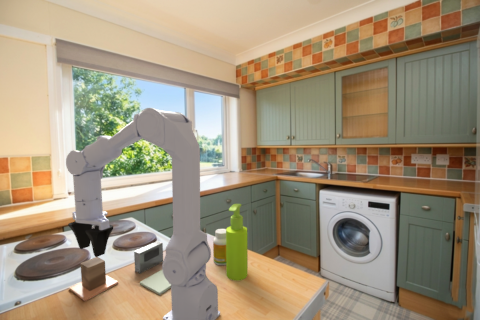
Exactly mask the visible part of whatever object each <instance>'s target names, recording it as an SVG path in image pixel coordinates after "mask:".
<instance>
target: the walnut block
mask: <svg viewBox="0 0 480 320" xmlns="http://www.w3.org/2000/svg"><path fill="white" fill-rule="evenodd" d="M106 273H107V272H106V262H105V260H104V259H102V258H100V256H98V257H95V256H94V257H93V258H90V259H88V260H85V261H83V262H80V276H81V282H82V286H83V287H84V288H86V289H87V290H89V291H91V290H93V289H95V288H97V287H99V286H101V285H103V284H105V283H106V275H107V274H106Z"/></svg>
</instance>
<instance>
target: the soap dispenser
mask: <svg viewBox="0 0 480 320" xmlns="http://www.w3.org/2000/svg"><path fill="white" fill-rule="evenodd" d="M241 207H242V204H241V203H234V204H232V205H231V206H230V207H229V208H228V212H233V214H232V215H230V226H227V227H226V228H225V229H226V265H225V266H226V268H225V270H226V272H225V273H226V277H227V278H228V279H229V280H231V281H237V282H239V281H243V280H245V279H246V278H247V277H248V273H249V272H248V266H249V265H248V262H249V261H248V260H249V259H248V258H249V257H248V227H247V226H244V217H243V215H241V214H240V213H241V210H240V209H241Z"/></svg>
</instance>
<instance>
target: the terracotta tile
mask: <svg viewBox="0 0 480 320" xmlns="http://www.w3.org/2000/svg"><path fill="white" fill-rule="evenodd" d="M118 284H119V281H118V280H116V279H115V278H112V277H111V276H109V275H107V274H106V283H105V284H103V285H101V286H99V287H97V288H95V289H93V290H91V291H89V290H87V289H86V288H84V287H83V286H82V281H80V282H78V283H75V284H74V285H72V286H69V290H70V291H71V292H72V293H73V294H75V295H76V296H77V297H79V298H80V299H81V300H83V301H84V302H86V301H88V300H90V299H92V298H93V297H95V296H97V295H99V294H101V293H103V292H105V291H107V290H109V289H111V288H113V287H115V286H116V285H118Z"/></svg>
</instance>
